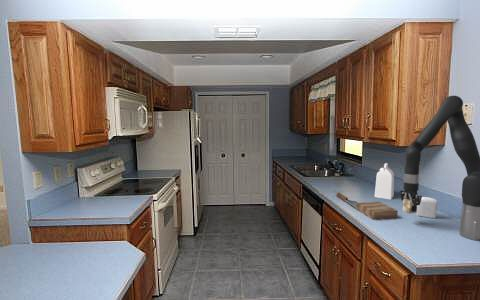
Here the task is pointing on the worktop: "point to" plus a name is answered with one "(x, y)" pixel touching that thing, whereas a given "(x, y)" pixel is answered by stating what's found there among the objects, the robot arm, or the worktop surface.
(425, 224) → the worktop surface
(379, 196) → the milk
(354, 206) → the meat cleaver
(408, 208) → the beech block
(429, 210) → the photo printer
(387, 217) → the walnut base
